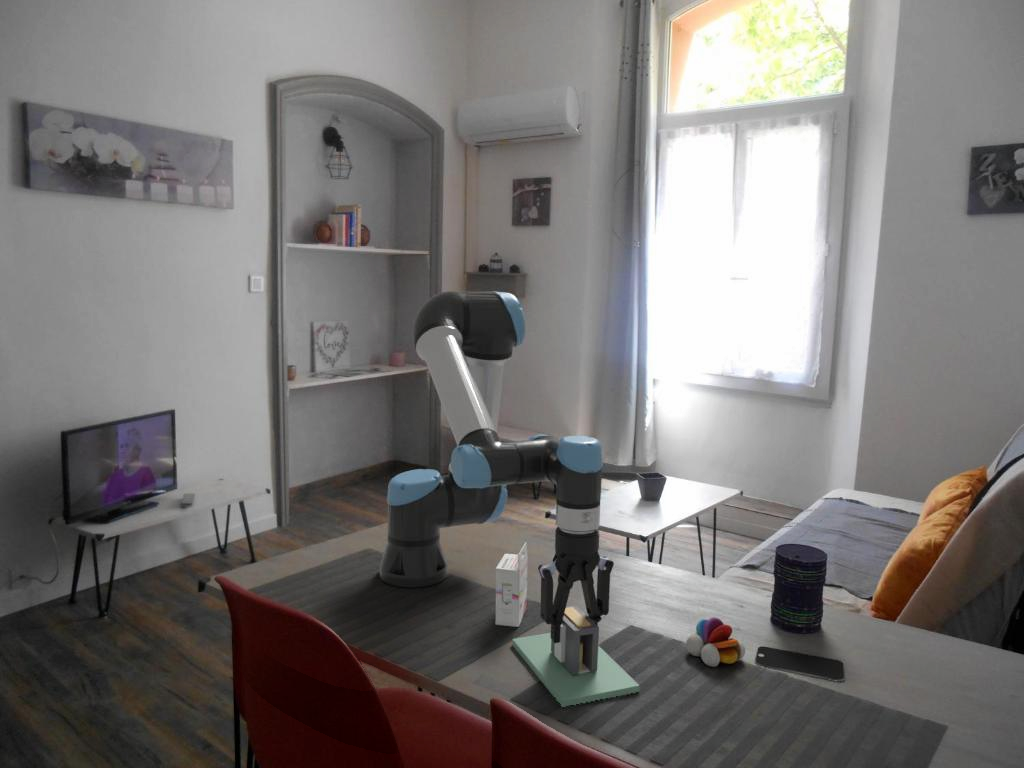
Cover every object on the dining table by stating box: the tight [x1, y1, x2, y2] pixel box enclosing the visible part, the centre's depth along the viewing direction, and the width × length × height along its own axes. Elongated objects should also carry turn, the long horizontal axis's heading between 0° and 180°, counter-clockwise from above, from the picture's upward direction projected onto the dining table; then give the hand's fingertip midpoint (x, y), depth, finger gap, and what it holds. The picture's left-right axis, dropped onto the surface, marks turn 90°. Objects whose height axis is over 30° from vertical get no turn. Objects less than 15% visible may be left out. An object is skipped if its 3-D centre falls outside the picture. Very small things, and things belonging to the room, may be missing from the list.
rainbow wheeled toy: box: [685, 616, 746, 668], centre depth 142 cm, size 8×10×7 cm
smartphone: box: [754, 646, 846, 682], centre depth 140 cm, size 8×1×15 cm
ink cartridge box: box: [494, 541, 529, 628], centre depth 155 cm, size 9×5×15 cm, turn 168°
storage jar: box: [769, 543, 828, 636], centre depth 155 cm, size 10×10×15 cm
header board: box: [511, 632, 640, 708], centre depth 137 cm, size 22×14×6 cm, turn 21°
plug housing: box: [551, 605, 600, 676], centre depth 136 cm, size 9×5×8 cm, turn 21°
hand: (573, 655), depth 137 cm, fingers closed on plug housing, 5 cm apart
